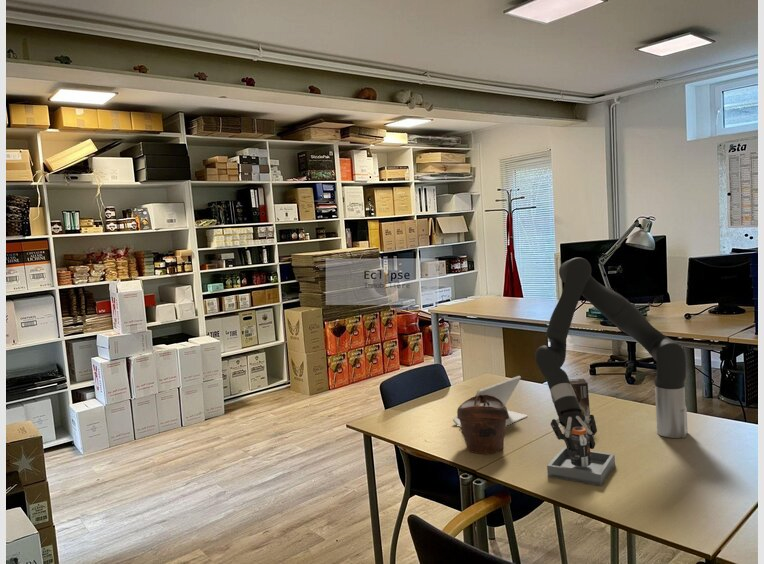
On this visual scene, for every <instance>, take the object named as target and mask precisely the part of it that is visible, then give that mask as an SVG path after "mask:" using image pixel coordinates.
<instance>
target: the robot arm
mask: <svg viewBox="0 0 764 564" xmlns="http://www.w3.org/2000/svg"><path fill="white" fill-rule="evenodd" d="M558 275H559V278H560V279H561V281H562V283H564V284H563V290H562V293H561V295H560V297H559V300H558V301H557V303H556V305H555V307H554V309H553V311H552V314H551V315H550V318H549V323H548V325H547V329H546V332H545V336H546V338H547V339H548V340H549V342H550V345H549V346H548V345H540V346H539V347H538V348H536V351H535V353H534V354H535V355H534V359H535V362H536V366H537V367H538V368H539V371H540V372H541V374H542V375H543V377H544V378H545V380H546V383H547V387H548V390H549V391H550V396H551V400H552V403H553V406H554V409H555V411H556V414H557V417H558V418H557V419H555V418H553V419H552V420H551V422H550V426H551V428H552V430H553V432H554V435H555V437H556V438H557V439H558V440H563V441H564V444H565V447H567V449H568V450H570V452H572V451H573V450H574V447H573V444H572V441H571V439H570V432H572V428H574V427H584V428H585V429H586V434H587V435H588V436H589V438H590V450H593V449H595V446H596V442H595V439H594V436H595V435H596V434H597V432H598V429H597V428H598V427H597V425H596V420H595V416H594V414H590V416H584V414H583V413H582V411H581V408H580V405H579V403H578V400H577V397H576V395H575V392H574V390H573V388H572V386H571V384H570V381H569V380H570V378H569V376H568V374H567V372H566V371H565V370H563V369H562V367H563V365H564V364H565V361H566V357H567V338H568V335H569V333H570V328H571V325H572V322H573V319H574V315H575V312H576V309H577V306H578V305H579V301H580V298H581V296H582V297H583V298H585V299H586V300H587V301H588V302H589V303H590V304H591V305H592V306H593V307H594V308H596V309H597V311H599V312H600V313H601V314H602V316H604V318H606V319H607V320H608V321H609V322H611V323H612V325H614V326H615V327H617V328H618V329H619V330H620V331H622V332H623V333H625V334H626V335H628V336H630V337H631V338H632V339H634V340H635V341H637V342H638V343H639V344H640V345H641V346H642V347H643V348H644V349H645V350H646V352H648V354H649V355H650V357H652V358H653V360H654V361H655V362H656V376H655V377H654V395H655V416H656V417H655V419H656V432H657V434H658V435H659V436H661V437H665V438H669V439H670V438H671V439H680V438H683V439H685V438H686V437H687V435H688V431H689V430H688V429H689V428H688V410H687V405H686V392H685V391H686V390H685V389H686V388H685V381H686V378H687V366H686V365H687V360H686V359H687V358H686V357H687V356H686V352H685V350H684V348H683V347H682V346H681V345H680V344H679V343H677V341H674V339H672V338H669V337H668V336H666V335H665V334H663V333H662V332H661V331H659V330H658V329H657V328H655V327H654V326H653V325H652V324H651V323H650V322H649V321H648V319H647V318H646V317H645V316H644V314H643V313H641V312H640V310H639V309H638V308H637V307H636V306H635V305H634V304H632V302H630V301H629V300H628V299H627V298H625V297H624V296H623V295H622V294H620V293H618V292H616V291H614V290H613V289H610V288H609V287H606V286H604V285H603V284H602V283H600V282H598V281H597V280H596V279H595V278H594V277H593V276H592V266H591V264H590V262H589V260H587V259H586V258H583V257H574V258H571V259H569V260H566V261H564V262H562V263H561V264H560V266H559V269H558ZM584 420H586V421H587V423H589V424H585V423H584ZM560 425H561V426H562V427H563V428H564V429H563V430H564V431H563V432H562V430H561V427H560ZM588 426H589V427H588Z"/></svg>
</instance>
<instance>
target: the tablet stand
mask: <svg viewBox="0 0 764 564" xmlns="http://www.w3.org/2000/svg"><path fill="white" fill-rule="evenodd" d="M521 378H522V377H521V376H520V375H517V376H514V377H512V378H509V379H506V380H503V381H501V382H498V383H495V384H492V385H489V386H486V387H484V388H481V389H478V390H477V391H476V393H475V395H474V397H475V396H478V395H491V396H495V397H497V398H499V399H500V400H501V401H502V402H503V403H504V405H505V406H506V405H507V403H508V401H509V400H510V398H511V396H512V394H513V392H514V391H515V390H516V387H517V386H518V384H519V382H520V380H521ZM507 411H508V414H509V418H508V419H506V424H505V426H506V427H508V426H507V425H509V426H511V425H513V424H515V423H517V421H518V422H520V421H522V420H525V419H527V418H528V415H527V414H524V413H519V412H516V411H512V410H508V409H507ZM526 417H527V418H526ZM524 418H525V419H524ZM521 419H522V420H521ZM519 420H520V421H519ZM452 422H453V423H454V424H455V425H456V426H457V425H460V426H461V423H460V419H458V418H457V416H456V417H453V419H452ZM514 422H515V423H514ZM512 423H513V424H512ZM510 424H511V425H510Z"/></svg>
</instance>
